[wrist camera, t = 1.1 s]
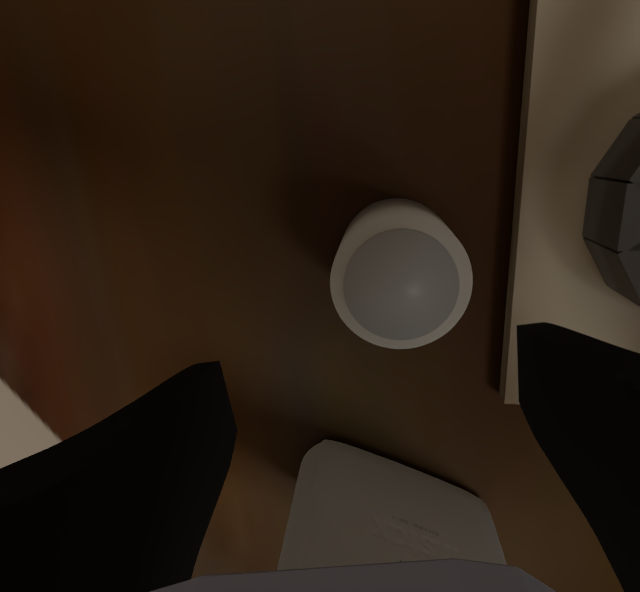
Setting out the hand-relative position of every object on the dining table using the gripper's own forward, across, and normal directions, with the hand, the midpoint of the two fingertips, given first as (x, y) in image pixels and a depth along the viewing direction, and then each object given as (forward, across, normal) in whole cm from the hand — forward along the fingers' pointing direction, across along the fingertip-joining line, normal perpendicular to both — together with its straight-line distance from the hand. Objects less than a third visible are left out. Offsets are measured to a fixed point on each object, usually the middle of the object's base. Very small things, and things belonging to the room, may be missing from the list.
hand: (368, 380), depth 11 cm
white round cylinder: (+11, -2, 0) cm, 11 cm away
